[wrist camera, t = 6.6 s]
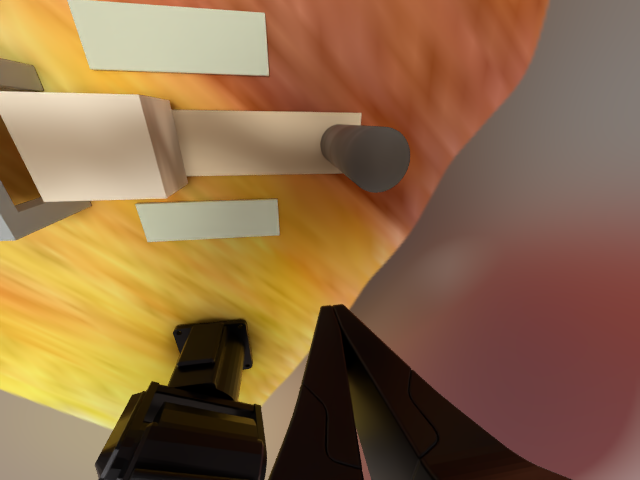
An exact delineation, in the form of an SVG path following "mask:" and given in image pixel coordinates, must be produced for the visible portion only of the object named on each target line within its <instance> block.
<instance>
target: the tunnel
mask: <svg viewBox="0 0 640 480" xmlns="http://www.w3.org/2000/svg"><path fill="white" fill-rule="evenodd" d="M0 88H7V89H16V90H41V91H44V90H43V87H42V85H41V83H40V80H39V78H38V75H37V73H36V71H35V68H34V66H33V65H28V64H24V63H19V62H15V61H10V60H6V59H1V58H0ZM90 206H91V203H90V201H58V202H44V201H43V199H42V197H40V198H37V199H34V200H31V201H28V202H25V203H21V204H18V205H15V206H14V204H13V202H12V200H11V198H10V197H9V195H8V193H7V191H6V190H5V188H4V186H3V184H2V182H1V181H0V241H11V240H18V239H20V238H22V237H24V236H26V235H29V234H31V233H33V232H35V231H37V230H40V229H42V228H44V227H46V226H48V225H51V224H53V223H55V222H57V221H59V220H62V219H64V218H66V217H68V216H70V215H73V214H75V213H77V212H79V211H81V210H84V209H86V208H88V207H90Z"/></svg>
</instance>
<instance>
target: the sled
mask: <svg viewBox="0 0 640 480" xmlns="http://www.w3.org/2000/svg"><path fill="white" fill-rule="evenodd" d="M361 114H362V113H336V112H277V111H218V110H171V106H170V101H169V100H165V99H160V98H154V97H149V96H143V95H133V94H92V93H51V92H10V91H0V115H1V117H2V119H3V121H4V123H5V125H6V127H7V129H8V131H9V133H10V135H11V137H12V139H13V141H14V143H15V145H16V147H17V149H18V151H19V153H20V155H21V157H22V159H23V161H24V163H25V165H26V167H27V169H28V171H29V173H30V175H31V177H32V179H33V181H34V183H35V185H36V187H37V189H38V191H39V193H40V195H41V197H42V199H43V201H44V202H58V201H92V200H126V199H160V198H168V197H169V196H171V195H172V194H174V193H175V192H177V191H178V190H179V189H181V188H182V187H184V186H185V185H187V184H188V181H187V177H186V176H226V175H282V174H338V173H343V174H345V175H346V176H347V177H348V178H349V179H351V180H352V181H353V182H354V183H356V184H357V185H358V186H359V187H360V188H362V189H364V190H366V191H369V192H376V193H377V192H383V191H386V190H389V189H391V188H392V187H394V186H395V185H396V184H398V183H399V182H400V180H401V179H402V178H403V177H404V175H405V173H406V171H407V169H408V166H409V162H410V149H409V145H408V143H407V141H406V139H405V137H404V136H403V135H402V134H401V133H400V132H399V131H397V130H395V129H393V128H389V127H378V126H361Z"/></svg>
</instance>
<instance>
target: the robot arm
mask: <svg viewBox="0 0 640 480" xmlns="http://www.w3.org/2000/svg"><path fill="white" fill-rule="evenodd" d="M240 325H243V326H240ZM179 331H181V332H179ZM173 335H174V337H175V340H176V343H177V346H178V349H179V352H180V356H179V359H178V361H177V364H176V367H175V369H174V371H173V374H172V376H171V379H170V381H169V383H168V386H164V385H160V384H159V383H158V382H153V381H151V383H150V385H149V387H148V389H147V390H146V392H145V391H143V392H141V393H137V394H134V395H132V396H131V398H130V400H129V402H128V404H127V406H126V407H125V409H124V411H123V413H122V415H121V417H120V419H119V420H118V422H117V424H116V426H115V428H114V430H113V431H112V433H111V435H110V437H109V439H108V441H107V443H106V444H105V446H104V448H103V450H102V452H101V454H100V456H99V457H98V460H97V461H96V463H95V467H96V470H97V474H98V477H99V479H98V480H264V479H265V473H266V465H267V451H266V443H265V436H264V427H263V420H262V412H261V405H257V404H254V405H251V404H247V403H242V402H238V397H239V390H240V384H241V377H242V370H244V369H250V368H251V367H252V364H253V360H252V354H251V348H250V342H249V336H248V329H247V323H246V322H245V321H244V320H234V321H224V322H213V323H203V324H193V325H182V326H177V327H175V329H174V331H173ZM356 429H357V432H358V435H359V439H360V443H361V445H362V449H363V453H364V456H365V459H366V463H367V466H368V470H369V473H370V476H371V480H572V479H569V478H567V477H564V476H562V475H559V474H557V473H554V472H551V471H549V470H547V469H544V468H542V467H539V466H537V465H535V464H533V463H531V462H529V461H527V460H526V459H524V458H522V457H521V456H519V455H517V454H516V453H514V452H513V451H511V450H510V449H509V448H507V447H506V446H505V445H503V444H502V443H501V442H499V441H498V440H497V439H495V438H494V437H493V436H491V435H490V434H489V433H488V432H486V431H485V430H484V429H483V428H482V427H480V426H479V425H478V424H476V423H475V422H474V421H473V420H471V419H470V418H469V417H468V416H466V415H465V414H464V413H463V412H461V411H460V410H459V409H458V408H456V407H455V406H454V405H453V404H451V403H450V402H449V401H448V400H447V399H445V398H444V397H443V396H442V395H441V394H439V393H438V392H437V391H436V390H434V389H433V388H432V387H431V386H430V385H429V384H428V383H427V382H426V381H425V380H424V379H422V378H421V377H420V376H419V375H418V374H417V373H416V372H415V371H414V370H411V368H410V367H409V366H408V365H407V364H406V363H405V362H404V361H403V360H402V359H401V358H400V357H399V356H398V355H396V353H394V352H393V351H392V350H391V349H390V348H389V347H388V346H387V345H386V344H385V343H384V342H383V341H382V340H381V339H380V338H378V337H377V336H376V335H375V334H374V333H373V332H372V331H371V330H370V329H369V328H368V327H367V326H366V325H365V324H364V323H363V322H361V321H360V320H359V319H358V318H357V317H356V316H355V315H354V314H353V313H352V312H351V311H350V310H349V309H348V308H347V307H346V306H344V305H343V304H339V305H333V306H331V305H329V306H322V307H321V308H320V312H319V316H318V320H317V324H316V328H315V332H314V336H313V340H312V344H311V348H310V352H309V356H308V360H307V364H306V368H305V372H304V376H303V380H302V385H301V387H300V391H299V395H298V399H297V402H296V406H295V409H294V413H293V416H292V418H291V421H290V424H289V427H288V430H287V433H286V435H285V438H284V441H283V444H282V446H281V448H280V451H279V453H278V456H277V458H276V461H275V464H274V466H273V469H272V471H271V474H270V476H269V479H268V480H364V478H363V472H362V465H361V459H360V452H359V445H358V439H357V432H356Z"/></svg>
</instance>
